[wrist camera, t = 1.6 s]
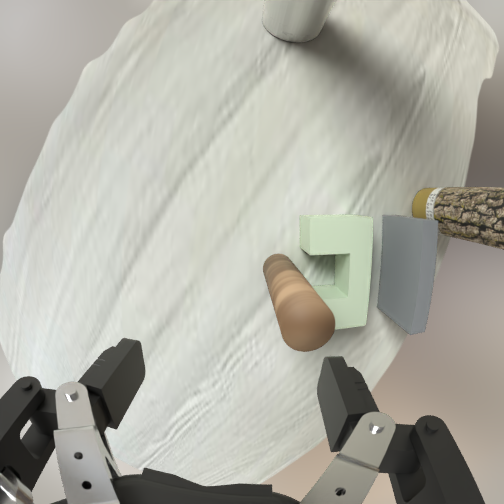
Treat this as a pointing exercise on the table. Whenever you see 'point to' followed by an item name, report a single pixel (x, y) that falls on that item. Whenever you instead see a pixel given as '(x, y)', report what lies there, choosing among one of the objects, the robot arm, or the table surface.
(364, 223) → the cradle
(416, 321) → the wall
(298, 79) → the table surface
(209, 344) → the table surface
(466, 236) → the brown bark cylinder
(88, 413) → the robot arm
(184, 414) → the table surface
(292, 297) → the brown banded cylinder
